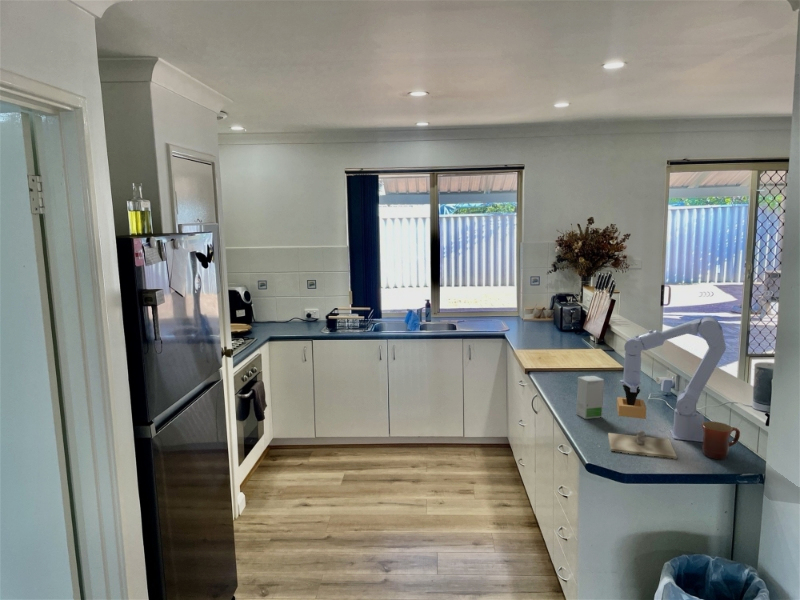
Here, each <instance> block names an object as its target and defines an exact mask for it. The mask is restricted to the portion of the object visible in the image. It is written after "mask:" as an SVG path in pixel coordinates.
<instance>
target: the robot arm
mask: <svg viewBox="0 0 800 600" xmlns="http://www.w3.org/2000/svg"><path fill="white" fill-rule="evenodd" d="M723 332H724V331H723V328H722V325H721V324H720V322H719V321H718V320H717V319H716V318H715V317H714V316H704V317H702V318H696V319H692V320H690V321H686V322H684V323H681V324H678V325H675V326H674V327H671V328H667V329H666V330H663V331H660V330H658V329H656V330H653V329H650V330H648V332H646V333H643V334H641V335H639V334H637V335H635V336H634V337H630V338H628V339H627V340H626V341H625V344H624V347H623V348H624V351H625V352H624V358H623V359H624V361H623V362H624V363H623V379H620V380H619V383H620V384H622V387H623V390H624V393H625V398H626V399H627V405H633V406H634V404H635V401H636V399H637V397H638V395H639V394H640V392H641V389H640V386H641V383H642V382H641V372H642V355H641V354H642V351H648V350H651V349H655V348H657V347H660V346H663V345H664V343H665V341H667V340H670V339H674V338H677V337H681V336H684V335H687V334H688V335H693V336H698V333H699V335H700V336H701V337H702V338H703V339H704V340H705V341H706V344H707V347H708V348H707V350H706V352H705V353H704V355H703V357H702V359H701V361H700V362H699V365H698V366H697V368H696V370H695V372H694V373H693V375H692V377H691V379H690V381H689V382H688V384H686V387H685V388H684V390H682V391H681V392H680V393H678V394H677V396H676V401H677V402H676V403H675V408H674V414H673V427H672V429H670V430H669V432H670V433H671V436H672V438H673V439H674V440H679V441H691V442H701V443H703V435H704V433H703V428H702V423H703V422H705V417H704V414H702V413H698V411H697V403H698V401H699V399H700V396H701V394H702V392H703V390H704V388H705V387H706V385H707V383H708V381H709V380H710V378H711V376H712V374H713V372H714V371H715V368H717V365H718V364H719V362H720V360H721V358H722V357H723V355H724V353H725V351H726V348H727V346H726V341H725V336H724V333H723Z"/></svg>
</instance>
